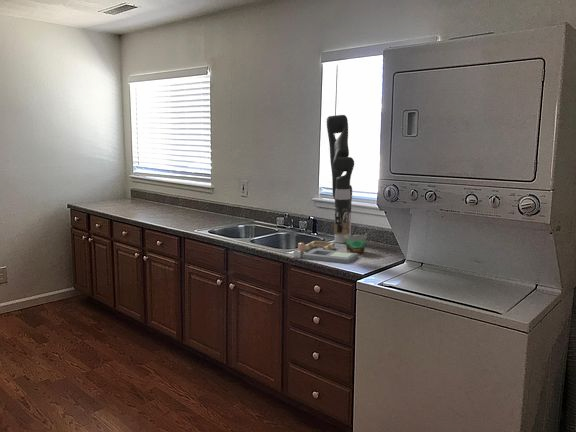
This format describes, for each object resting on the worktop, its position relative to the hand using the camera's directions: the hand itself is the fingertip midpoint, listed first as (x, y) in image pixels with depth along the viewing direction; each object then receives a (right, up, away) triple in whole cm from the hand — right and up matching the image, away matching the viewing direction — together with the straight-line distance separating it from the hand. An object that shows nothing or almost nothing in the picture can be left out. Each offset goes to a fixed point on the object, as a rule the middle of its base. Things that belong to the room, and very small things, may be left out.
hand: (341, 231), depth 254 cm
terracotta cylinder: (-20, -12, +11) cm, 26 cm away
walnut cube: (0, -1, 0) cm, 1 cm away
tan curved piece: (-10, -11, +23) cm, 27 cm away
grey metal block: (-22, -13, +6) cm, 26 cm away
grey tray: (-5, -13, +5) cm, 15 cm away
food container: (+10, -12, +15) cm, 21 cm away
